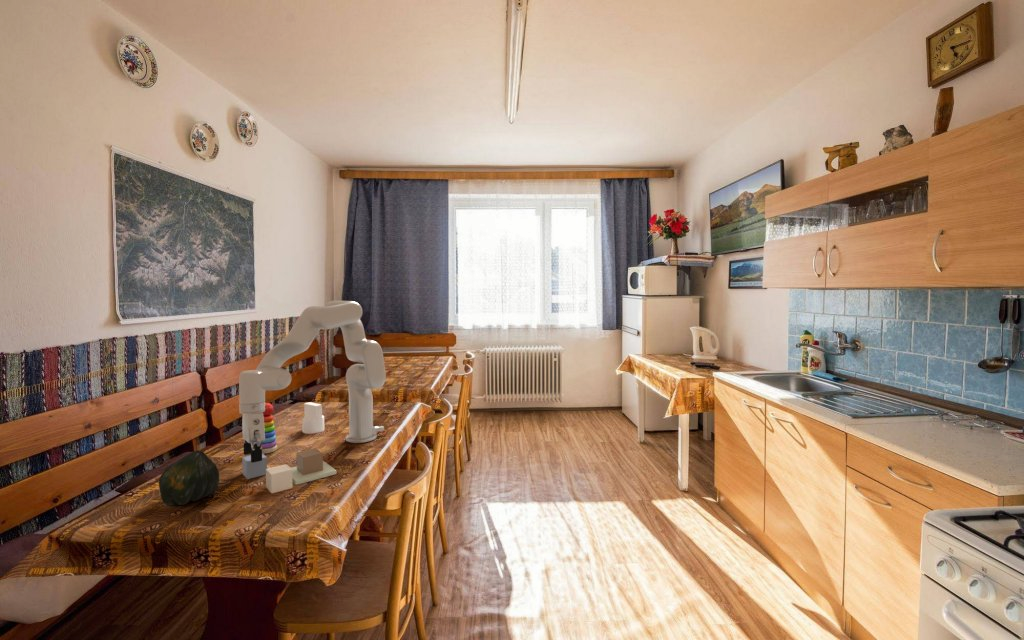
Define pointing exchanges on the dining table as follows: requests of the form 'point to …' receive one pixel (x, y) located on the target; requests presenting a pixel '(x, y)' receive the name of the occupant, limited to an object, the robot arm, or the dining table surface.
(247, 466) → the slate brick
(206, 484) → the squash
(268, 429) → the stacking toy
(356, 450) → the dining table surface
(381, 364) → the robot arm
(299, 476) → the baseplate
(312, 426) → the cylinder with rectangular tab
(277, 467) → the cream brick
